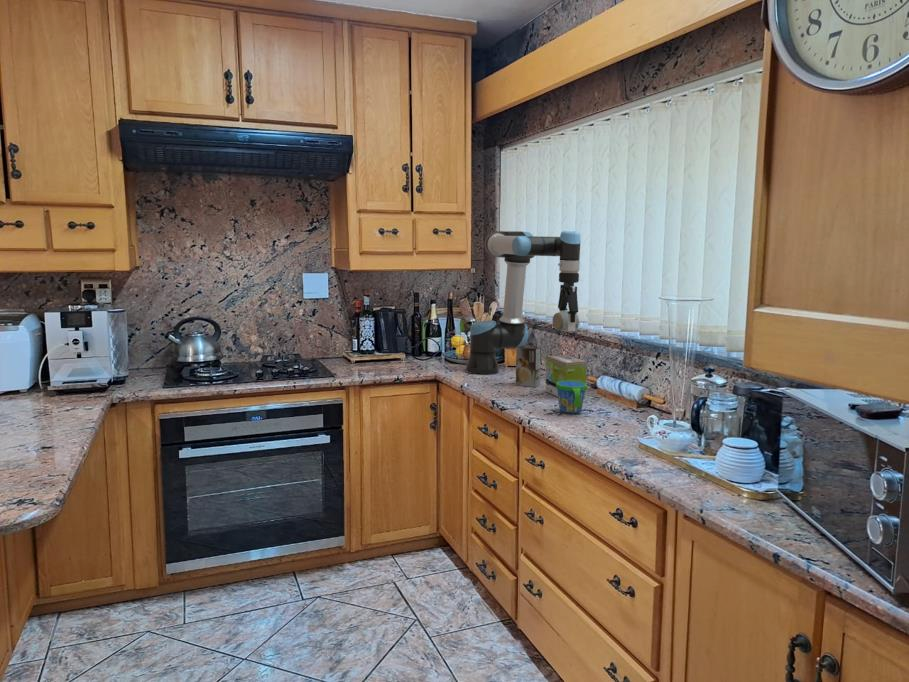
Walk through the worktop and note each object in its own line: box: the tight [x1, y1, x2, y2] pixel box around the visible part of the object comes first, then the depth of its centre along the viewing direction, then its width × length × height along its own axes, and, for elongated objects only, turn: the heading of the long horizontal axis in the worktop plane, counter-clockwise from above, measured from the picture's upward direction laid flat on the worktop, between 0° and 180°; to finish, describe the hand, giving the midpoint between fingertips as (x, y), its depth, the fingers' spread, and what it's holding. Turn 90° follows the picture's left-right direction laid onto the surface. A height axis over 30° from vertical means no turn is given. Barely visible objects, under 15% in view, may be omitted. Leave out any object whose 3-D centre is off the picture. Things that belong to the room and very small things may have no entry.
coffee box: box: [515, 345, 542, 388], centre depth 278 cm, size 9×6×16 cm
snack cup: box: [556, 381, 588, 415], centre depth 232 cm, size 16×10×10 cm
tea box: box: [545, 354, 588, 399], centre depth 259 cm, size 15×10×15 cm, turn 20°
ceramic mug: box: [551, 310, 580, 334], centre depth 256 cm, size 11×8×8 cm
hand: (566, 329), depth 257 cm, fingers closed on ceramic mug, 11 cm apart
